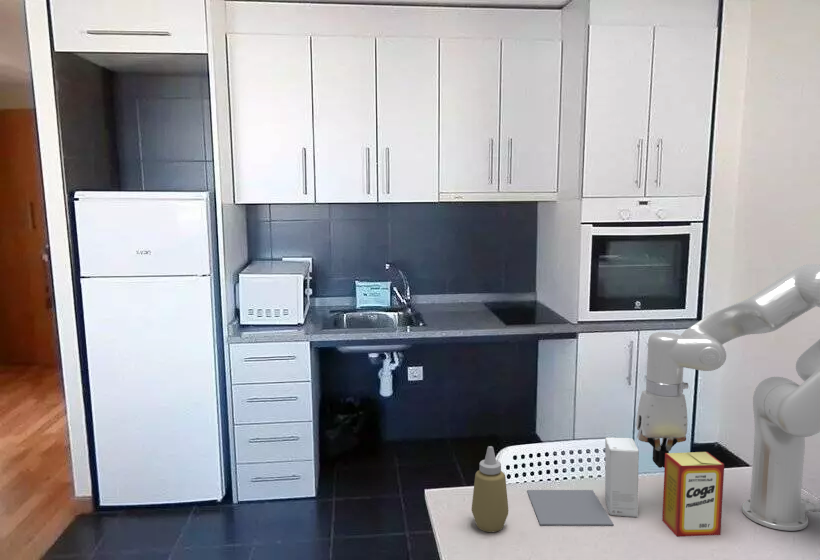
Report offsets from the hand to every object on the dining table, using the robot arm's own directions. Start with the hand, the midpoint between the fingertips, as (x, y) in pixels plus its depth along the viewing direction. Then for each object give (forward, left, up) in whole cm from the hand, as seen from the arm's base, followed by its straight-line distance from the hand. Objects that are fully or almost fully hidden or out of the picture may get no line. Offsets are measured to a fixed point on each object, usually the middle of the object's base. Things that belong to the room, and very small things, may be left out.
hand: (660, 465), depth 136 cm
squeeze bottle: (+40, +8, -11) cm, 42 cm away
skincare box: (+9, 0, -11) cm, 14 cm away
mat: (+21, 0, -10) cm, 23 cm away
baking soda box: (-4, +9, -11) cm, 14 cm away
